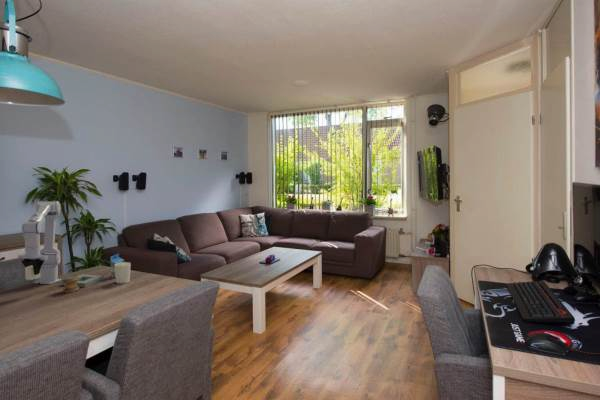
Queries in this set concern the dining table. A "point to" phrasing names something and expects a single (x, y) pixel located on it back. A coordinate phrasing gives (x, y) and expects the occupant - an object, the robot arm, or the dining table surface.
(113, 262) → the label tape box
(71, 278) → the wooden knob
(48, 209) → the robot arm
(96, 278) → the notched board
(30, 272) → the tab block
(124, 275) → the white cup
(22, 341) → the dining table surface
